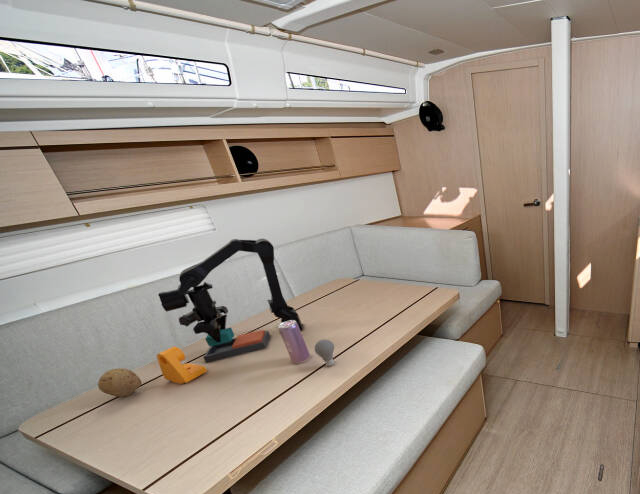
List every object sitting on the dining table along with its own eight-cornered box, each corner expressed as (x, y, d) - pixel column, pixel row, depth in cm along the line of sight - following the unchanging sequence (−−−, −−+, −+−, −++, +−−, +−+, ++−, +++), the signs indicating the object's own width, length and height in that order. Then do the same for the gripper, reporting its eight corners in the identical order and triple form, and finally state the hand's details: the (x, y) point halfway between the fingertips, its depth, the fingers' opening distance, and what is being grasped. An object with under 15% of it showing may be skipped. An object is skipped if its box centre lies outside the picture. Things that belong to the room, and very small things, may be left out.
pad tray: (270, 335, 149) (268, 330, 148) (265, 348, 139) (263, 342, 138) (215, 348, 142) (212, 343, 141) (206, 362, 133) (203, 357, 131)
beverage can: (314, 356, 130) (300, 321, 124) (299, 365, 125) (284, 328, 119) (303, 353, 133) (289, 318, 126) (288, 362, 128) (273, 326, 121)
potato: (106, 398, 117) (88, 373, 112) (141, 383, 123) (126, 359, 119) (112, 407, 112) (93, 381, 107) (148, 391, 118) (132, 366, 114)
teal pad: (234, 335, 141) (230, 327, 139) (230, 341, 136) (226, 333, 134) (213, 339, 138) (209, 332, 137) (209, 346, 133) (204, 338, 132)
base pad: (267, 336, 148) (264, 329, 146) (263, 346, 140) (260, 339, 138) (240, 342, 144) (237, 335, 143) (235, 352, 136) (231, 345, 135)
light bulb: (321, 371, 121) (312, 347, 116) (321, 363, 126) (312, 339, 121) (340, 366, 123) (331, 341, 119) (339, 358, 128) (330, 334, 124)
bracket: (209, 372, 126) (193, 343, 121) (187, 384, 120) (170, 355, 115) (188, 369, 129) (172, 341, 124) (166, 381, 123) (148, 352, 118)
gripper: (185, 298, 135) (204, 333, 142) (165, 317, 119) (187, 355, 126) (219, 292, 139) (236, 326, 146) (205, 309, 123) (224, 347, 130)
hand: (221, 338), depth 137 cm, fingers closed on teal pad, 6 cm apart
